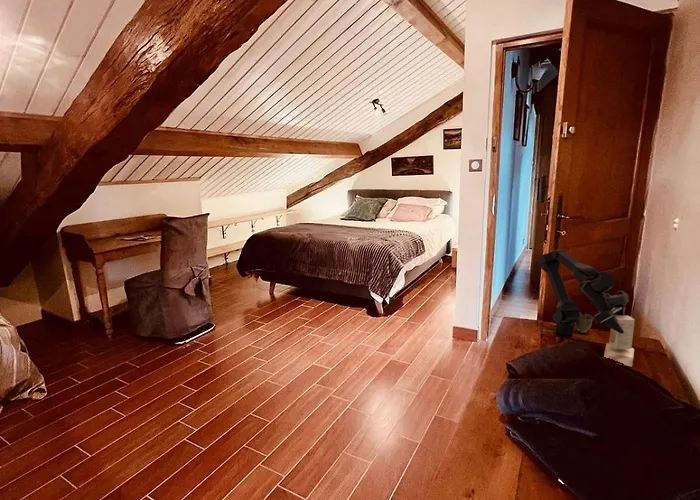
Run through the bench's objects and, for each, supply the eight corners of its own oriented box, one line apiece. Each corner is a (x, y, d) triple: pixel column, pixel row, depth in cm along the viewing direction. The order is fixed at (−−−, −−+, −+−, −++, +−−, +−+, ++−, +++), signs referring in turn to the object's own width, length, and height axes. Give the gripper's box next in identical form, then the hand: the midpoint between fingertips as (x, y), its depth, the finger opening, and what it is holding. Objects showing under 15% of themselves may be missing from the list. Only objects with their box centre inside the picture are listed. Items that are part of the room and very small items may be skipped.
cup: (591, 330, 178) (593, 314, 176) (591, 337, 172) (593, 320, 170) (573, 327, 182) (574, 311, 180) (572, 333, 176) (573, 316, 174)
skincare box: (625, 344, 153) (629, 315, 151) (631, 349, 149) (636, 319, 146) (607, 343, 154) (611, 314, 151) (613, 348, 150) (617, 319, 147)
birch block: (603, 361, 152) (604, 351, 151) (605, 352, 159) (606, 342, 158) (631, 367, 146) (633, 357, 146) (633, 357, 153) (634, 348, 152)
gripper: (606, 291, 143) (638, 328, 138) (623, 280, 155) (653, 313, 149) (581, 305, 151) (610, 341, 145) (598, 294, 163) (626, 326, 157)
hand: (626, 330), depth 149 cm, fingers closed on skincare box, 7 cm apart
